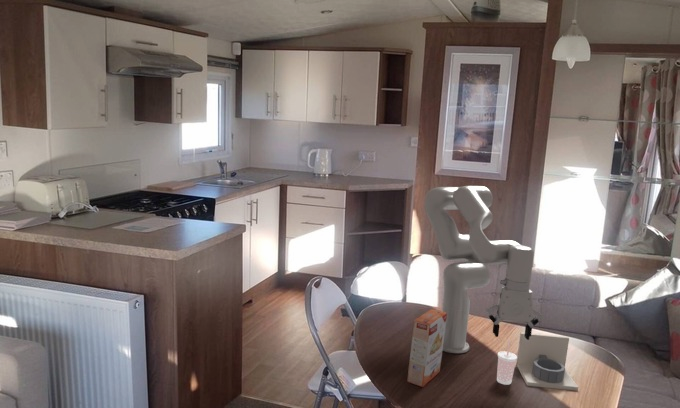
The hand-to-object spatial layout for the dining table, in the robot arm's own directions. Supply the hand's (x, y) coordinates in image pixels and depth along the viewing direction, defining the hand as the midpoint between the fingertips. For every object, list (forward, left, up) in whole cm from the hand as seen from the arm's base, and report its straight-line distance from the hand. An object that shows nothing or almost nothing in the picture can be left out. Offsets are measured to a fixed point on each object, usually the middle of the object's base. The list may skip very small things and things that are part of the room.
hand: (511, 336), depth 184 cm
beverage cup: (0, +1, -16) cm, 16 cm away
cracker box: (-26, -2, -16) cm, 31 cm away
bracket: (+15, +7, -16) cm, 22 cm away
